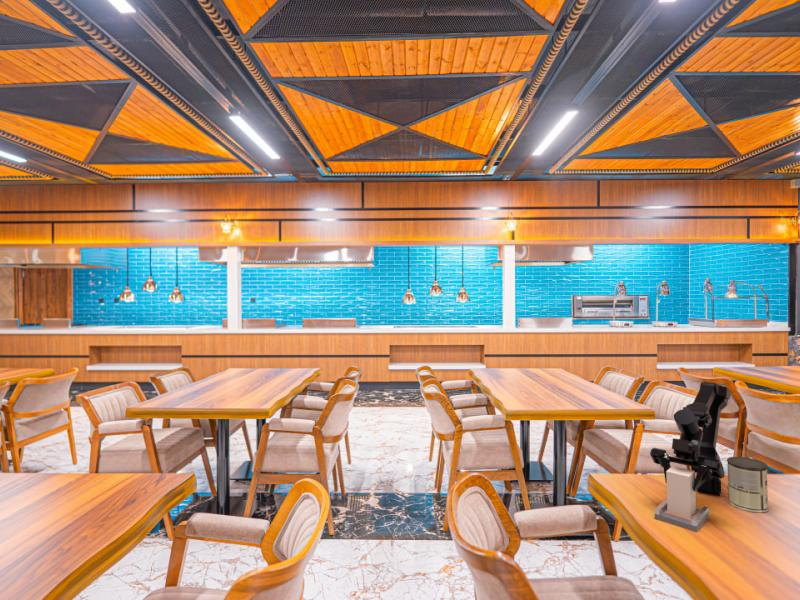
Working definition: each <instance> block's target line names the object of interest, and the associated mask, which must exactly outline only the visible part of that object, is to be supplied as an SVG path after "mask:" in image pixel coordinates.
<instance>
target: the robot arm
mask: <svg viewBox="0 0 800 600" xmlns="http://www.w3.org/2000/svg"><path fill="white" fill-rule="evenodd" d="M731 395H732V394H731V390H730V388H728V387H727V386H724V385H720V384H719V383H717V382H712V381H711V382H710V381H703V382H700V384H699V390H698V392H697V395H696V397H695V398H694V400H693V401H692V403H689V404H687V405H686V406H683V407H682V409H679V410H677V411H676V412H675V413H674V414H673V421H675V424H676V427H677V429H678V432H680V437H679V438H672V445H671V450H673V454H674V455H675V456H674V455H671V454H669V453H667V451H666V449H661V448H657V447H653V448H651V449H650V453H649V455H650V457H651V459H652V461H653V463H654V464H657V465H660V467H661V468H663V474H664V480H665V484H666V485H667V478H666V471H667V470H668V469H670V468H671V467H672V466H671V463H675V464H678V465H679V464H680V465H684V466H688V467H690V468H691V469H690V470H692V471H695V481H694V484H693V491H695V492H697V493H699V494H706V495H709V496H710V495H711V496H717V497H720V496H721V493H722V480H721V479H724V478H725V469H724V466H723V463H722V460H721V457H720V455H719V452H718V451H717V440H718V433H719V428H720V427H719V426H720V420H721V413H722V411H723V410H724V409H725V408H726V407H727V406H728V403H729V400H731ZM701 428H702V429H701Z"/></svg>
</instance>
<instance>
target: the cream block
mask: <svg viewBox="0 0 800 600" xmlns="http://www.w3.org/2000/svg"><path fill="white" fill-rule="evenodd" d="M666 478H667V484H666V498H667V512H668V513H672V514H675V515H678V516H682V517H685V518H688V519H691V518H692V516H693V515H694V514H695V513H696V509H697V506H696V504H697V502H696V500H697V499H696V498H697V497H696V491H693V484H694V481H695V478H696V472H695V471H692V470H691V469H686V468H683V467H679V466H674V465H672V466H671V468H670V469H668V470H667V471H666Z"/></svg>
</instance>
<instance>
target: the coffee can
mask: <svg viewBox="0 0 800 600" xmlns="http://www.w3.org/2000/svg"><path fill="white" fill-rule="evenodd" d="M726 462H727V484H728V485H727V488H728V489H727V490H728V492H727V493H728V500H727V501H728V503H729V504H730V506H732V505H733V507H734V506H735V507H734V508H736V507H737V509H740V510H741V511H745V510H746V512H751V513H763V514H764V513H766V512H768V511H769V499H768V497H769V495H768V490H769V489H768V464H767V463H765V462H763V461H762V460H758V459H755V458H750V457H746V456H729V457H727V458H726Z"/></svg>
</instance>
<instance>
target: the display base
mask: <svg viewBox="0 0 800 600" xmlns="http://www.w3.org/2000/svg"><path fill="white" fill-rule="evenodd" d="M709 518H710V512H709V506H706V505H703V506H702V508H700V509H699V508H696V513H695V514H694V515H693V516H692V518H691V519H688V518H685V517H682V516H678V515H675V514H672V513H668V512H667V497H666V498H665V499H664V500H663V501H662V502H661V503H659V504H658V505H657V506H656V507H655V508H654V519H655V520H659V521H660V522H664V523H668V524H671V525H673V526H678V527H680V528H684V529H686V530H690V531H693V532H695V533H697V532H698V531H699V530H700V529H701V527H703V525H704V524H705V523H706V522H707V520H708V519H709ZM705 521H706V522H705ZM704 522H705V523H704Z"/></svg>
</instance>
